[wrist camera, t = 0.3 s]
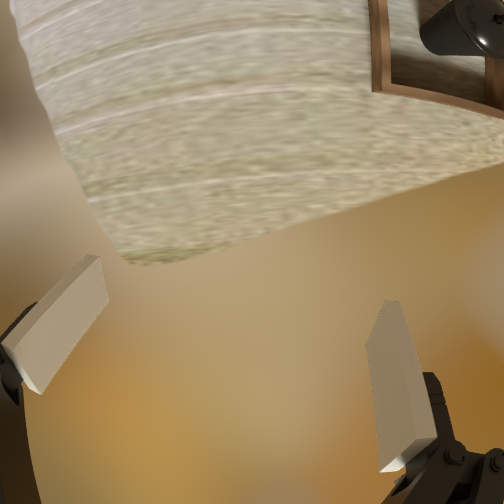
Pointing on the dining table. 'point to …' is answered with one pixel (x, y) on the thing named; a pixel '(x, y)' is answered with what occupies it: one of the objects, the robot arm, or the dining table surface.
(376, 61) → the wooden frame
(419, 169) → the dining table surface
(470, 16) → the drinking cup
